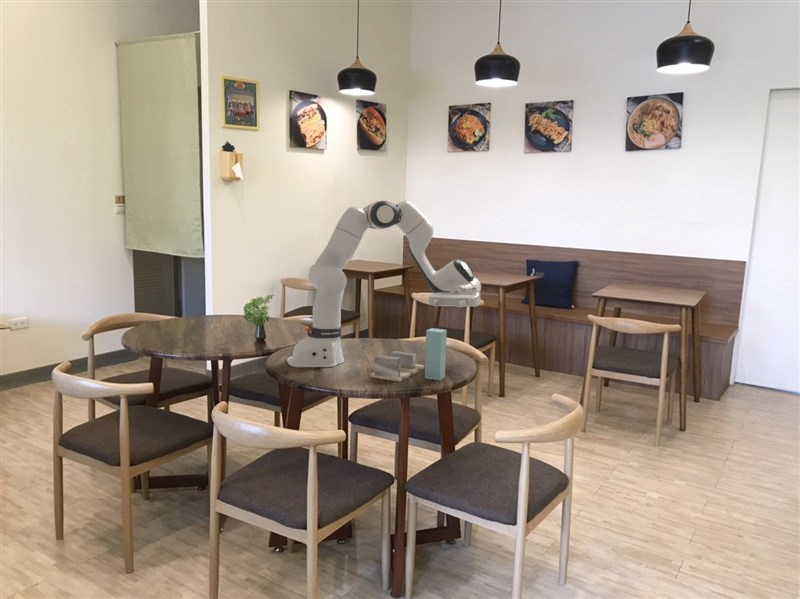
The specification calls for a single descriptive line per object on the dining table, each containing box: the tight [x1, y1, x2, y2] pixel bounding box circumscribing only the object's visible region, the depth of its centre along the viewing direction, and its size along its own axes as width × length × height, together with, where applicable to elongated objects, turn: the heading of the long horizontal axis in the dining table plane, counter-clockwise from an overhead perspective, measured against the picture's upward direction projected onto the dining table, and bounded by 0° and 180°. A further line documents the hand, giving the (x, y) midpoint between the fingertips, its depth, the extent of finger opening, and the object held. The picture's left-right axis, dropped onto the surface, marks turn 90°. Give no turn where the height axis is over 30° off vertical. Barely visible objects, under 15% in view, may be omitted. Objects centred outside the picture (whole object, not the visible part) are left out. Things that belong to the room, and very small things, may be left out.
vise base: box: [370, 354, 425, 383], centre depth 242 cm, size 22×12×8 cm, turn 155°
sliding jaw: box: [390, 350, 417, 369], centre depth 246 cm, size 3×9×5 cm, turn 65°
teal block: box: [424, 327, 448, 381], centre depth 235 cm, size 5×6×18 cm
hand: (446, 304), depth 244 cm, fingers open, 8 cm apart
